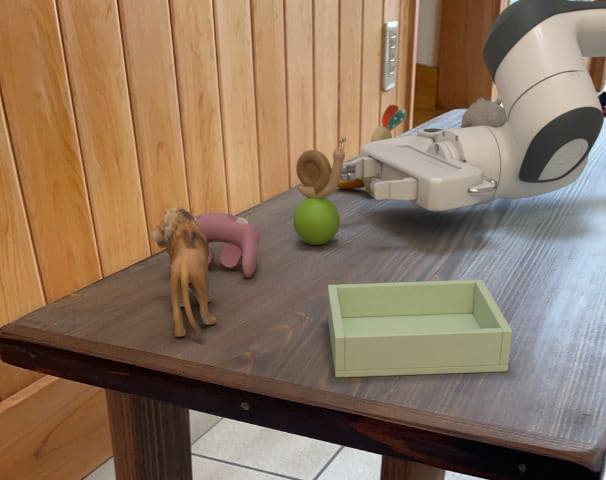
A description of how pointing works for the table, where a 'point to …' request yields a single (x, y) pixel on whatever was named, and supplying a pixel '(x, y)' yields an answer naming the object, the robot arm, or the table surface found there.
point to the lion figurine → (185, 265)
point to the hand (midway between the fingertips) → (355, 181)
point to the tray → (416, 329)
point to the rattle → (389, 122)
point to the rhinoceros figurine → (484, 114)
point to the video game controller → (231, 240)
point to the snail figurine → (318, 195)
